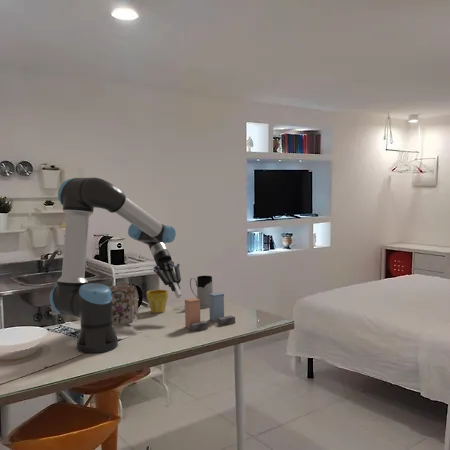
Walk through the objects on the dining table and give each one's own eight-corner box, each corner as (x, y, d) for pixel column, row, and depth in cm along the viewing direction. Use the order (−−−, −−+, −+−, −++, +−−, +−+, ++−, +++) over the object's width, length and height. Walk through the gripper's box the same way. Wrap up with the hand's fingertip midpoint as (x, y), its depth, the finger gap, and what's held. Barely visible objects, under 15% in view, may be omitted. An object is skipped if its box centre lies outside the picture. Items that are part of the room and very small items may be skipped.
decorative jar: (138, 318, 220) (137, 279, 219) (133, 325, 209) (132, 285, 207) (113, 318, 221) (111, 280, 219) (106, 325, 209) (104, 285, 208)
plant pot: (147, 309, 237) (147, 289, 236) (168, 308, 238) (168, 289, 237) (146, 314, 226) (146, 294, 226) (168, 313, 227) (167, 293, 227)
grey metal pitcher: (206, 309, 235) (205, 279, 234) (184, 305, 243) (184, 276, 242) (217, 305, 242) (216, 276, 240) (196, 301, 250) (195, 273, 249)
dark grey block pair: (188, 336, 192) (188, 326, 191) (172, 328, 203) (171, 319, 203) (240, 325, 206) (240, 316, 206) (222, 318, 218) (222, 309, 218)
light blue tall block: (214, 321, 207) (214, 295, 207) (209, 319, 211) (209, 293, 210) (224, 319, 210) (224, 293, 209) (219, 317, 214) (218, 292, 213)
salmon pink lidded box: (190, 329, 197) (189, 301, 196) (185, 326, 201) (184, 299, 200) (200, 326, 200) (200, 299, 199) (195, 324, 204) (195, 297, 203)
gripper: (170, 258, 228) (189, 299, 216) (146, 261, 221) (163, 303, 208) (175, 248, 223) (194, 289, 211) (150, 250, 216) (168, 293, 203)
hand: (179, 296), depth 210 cm, fingers closed
